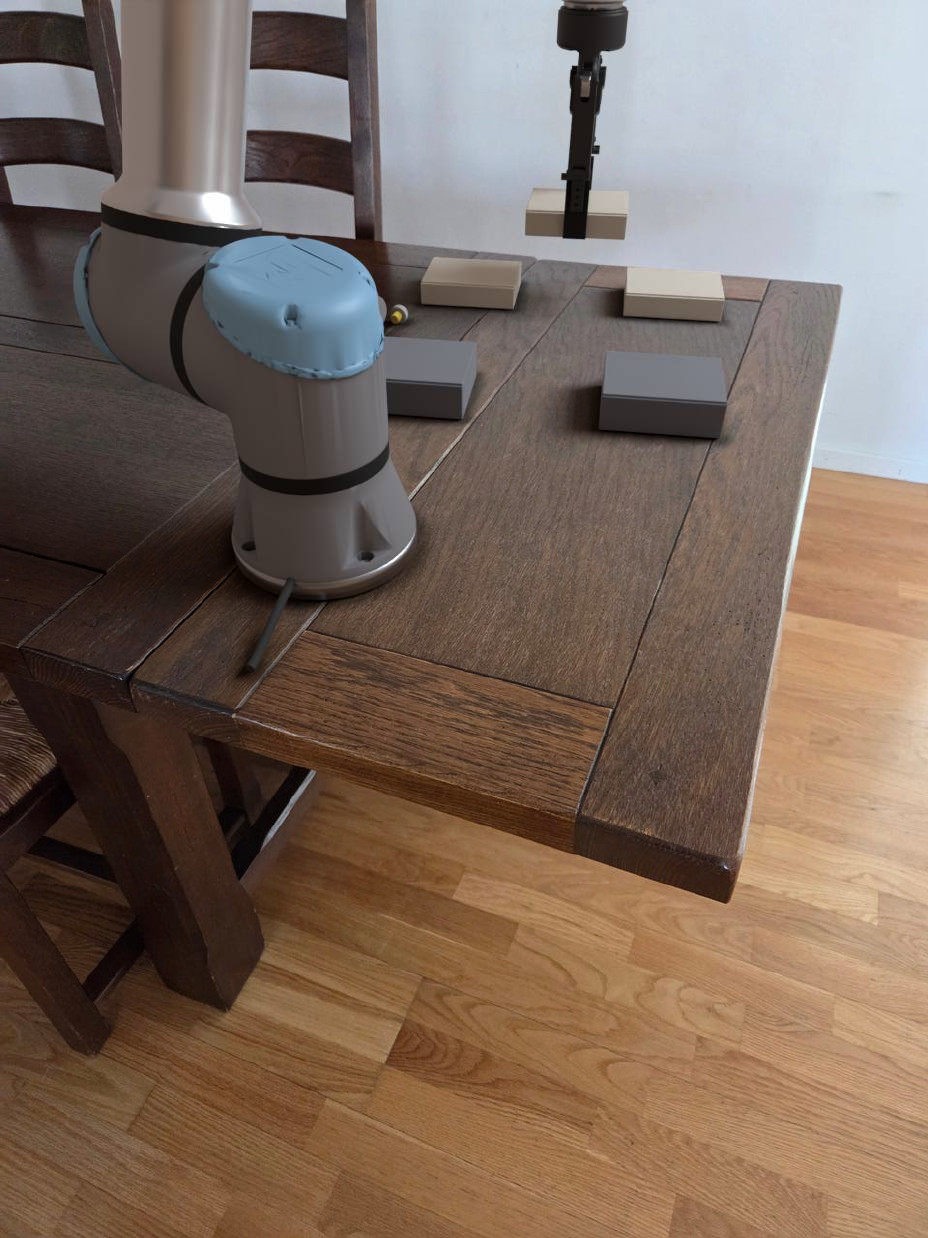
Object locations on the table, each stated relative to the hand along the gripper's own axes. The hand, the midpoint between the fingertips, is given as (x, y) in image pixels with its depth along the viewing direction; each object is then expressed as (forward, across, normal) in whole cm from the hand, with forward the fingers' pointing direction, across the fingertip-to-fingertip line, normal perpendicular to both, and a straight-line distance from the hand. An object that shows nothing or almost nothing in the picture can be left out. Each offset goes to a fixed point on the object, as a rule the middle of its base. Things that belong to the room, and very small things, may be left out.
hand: (576, 224), depth 107 cm
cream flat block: (+9, 0, +13) cm, 16 cm away
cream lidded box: (+9, 0, -13) cm, 16 cm away
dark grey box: (+9, -29, -11) cm, 32 cm away
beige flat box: (0, 0, 0) cm, 0 cm away
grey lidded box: (+9, -29, +15) cm, 34 cm away
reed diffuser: (+9, -9, +30) cm, 33 cm away
